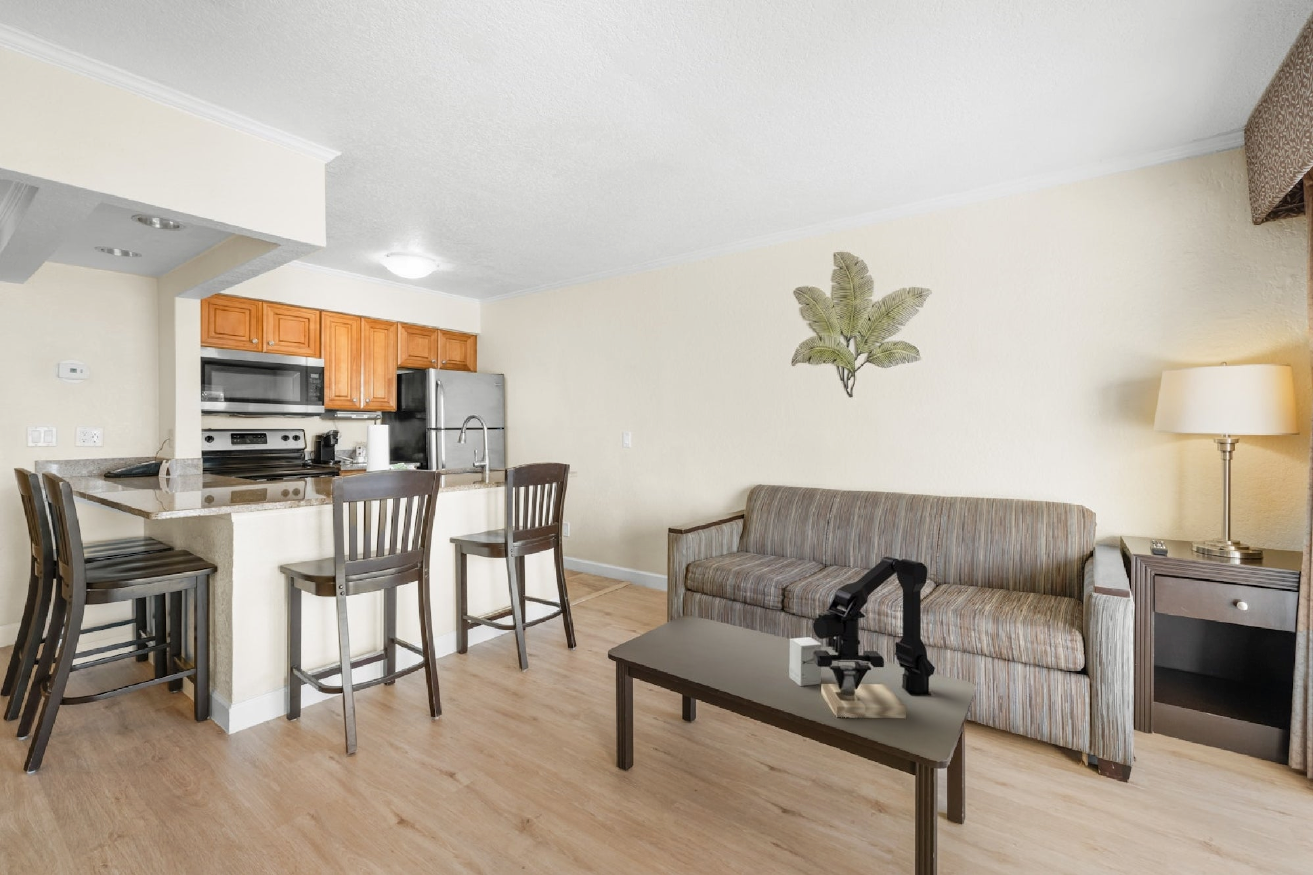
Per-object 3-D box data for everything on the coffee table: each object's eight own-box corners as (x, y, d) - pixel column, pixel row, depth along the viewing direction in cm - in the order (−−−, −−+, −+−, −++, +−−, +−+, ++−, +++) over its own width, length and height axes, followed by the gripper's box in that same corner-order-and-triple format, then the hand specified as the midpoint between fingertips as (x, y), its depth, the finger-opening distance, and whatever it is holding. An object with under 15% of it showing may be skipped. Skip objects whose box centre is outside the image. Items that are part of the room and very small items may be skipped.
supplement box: (800, 686, 183) (800, 645, 183) (788, 677, 190) (789, 637, 190) (821, 684, 185) (822, 643, 185) (809, 675, 192) (809, 636, 192)
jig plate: (884, 694, 178) (884, 684, 178) (906, 718, 163) (906, 707, 163) (821, 693, 178) (821, 683, 178) (836, 717, 163) (836, 706, 163)
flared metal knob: (853, 689, 172) (854, 664, 172) (859, 697, 167) (860, 672, 167) (835, 688, 172) (836, 664, 172) (841, 696, 167) (841, 671, 167)
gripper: (870, 625, 178) (870, 677, 178) (808, 624, 177) (807, 677, 177) (885, 637, 166) (884, 693, 166) (818, 637, 166) (817, 693, 166)
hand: (847, 688), depth 169 cm, fingers closed on flared metal knob, 4 cm apart
